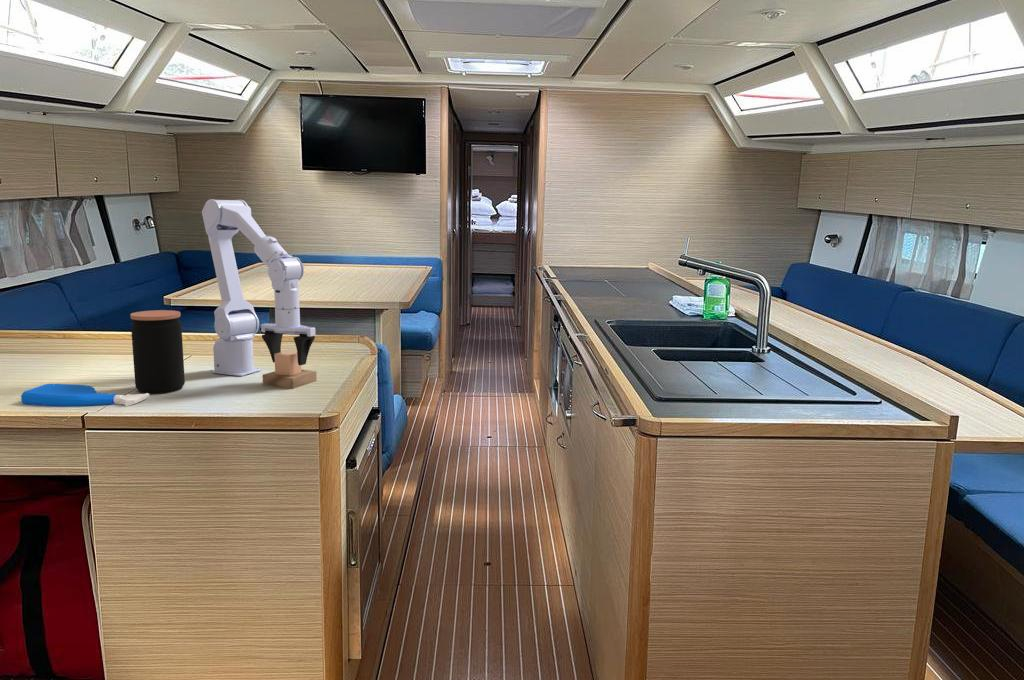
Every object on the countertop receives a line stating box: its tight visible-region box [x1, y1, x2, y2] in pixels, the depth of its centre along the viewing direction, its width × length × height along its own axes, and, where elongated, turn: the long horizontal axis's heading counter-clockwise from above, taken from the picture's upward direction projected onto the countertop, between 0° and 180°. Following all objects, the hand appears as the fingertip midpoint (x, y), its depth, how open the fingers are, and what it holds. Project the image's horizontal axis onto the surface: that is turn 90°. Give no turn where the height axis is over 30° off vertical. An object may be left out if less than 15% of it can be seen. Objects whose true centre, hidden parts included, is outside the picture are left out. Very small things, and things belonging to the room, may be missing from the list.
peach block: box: [274, 350, 302, 376], centre depth 188 cm, size 4×4×5 cm
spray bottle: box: [20, 383, 151, 407], centre depth 169 cm, size 3×11×24 cm
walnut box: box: [262, 369, 317, 390], centre depth 189 cm, size 9×9×3 cm
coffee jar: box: [129, 309, 186, 395], centre depth 179 cm, size 11×11×18 cm
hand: (289, 363), depth 188 cm, fingers open, 7 cm apart
